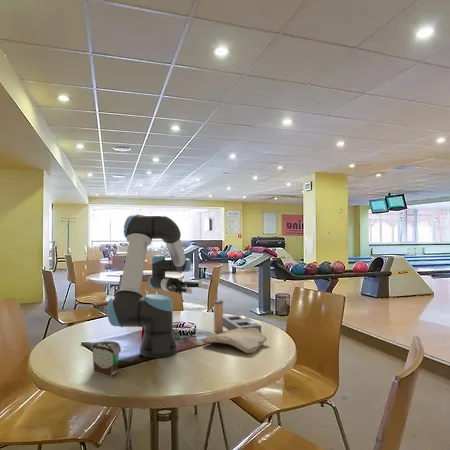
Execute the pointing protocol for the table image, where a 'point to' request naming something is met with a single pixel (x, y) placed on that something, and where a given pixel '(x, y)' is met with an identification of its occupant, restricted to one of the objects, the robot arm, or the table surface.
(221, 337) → the beige flat rock
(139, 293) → the robot arm
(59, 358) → the table surface
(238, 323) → the socket board
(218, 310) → the plug
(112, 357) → the food container
